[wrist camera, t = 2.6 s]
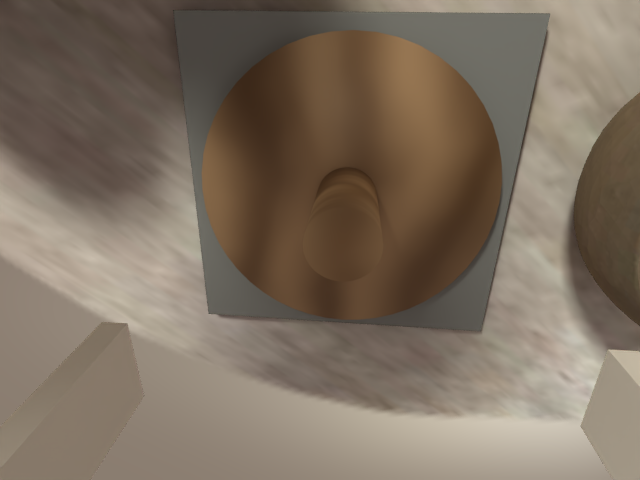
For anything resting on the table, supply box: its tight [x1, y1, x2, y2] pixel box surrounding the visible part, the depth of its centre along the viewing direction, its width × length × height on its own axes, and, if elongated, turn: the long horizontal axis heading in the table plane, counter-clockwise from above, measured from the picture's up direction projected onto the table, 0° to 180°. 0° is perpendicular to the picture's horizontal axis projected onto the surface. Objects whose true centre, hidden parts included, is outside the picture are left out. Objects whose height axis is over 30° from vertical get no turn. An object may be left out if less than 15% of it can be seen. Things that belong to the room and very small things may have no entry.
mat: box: [173, 10, 550, 331], centre depth 29 cm, size 22×22×1 cm
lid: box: [202, 30, 502, 320], centre depth 24 cm, size 20×20×9 cm
